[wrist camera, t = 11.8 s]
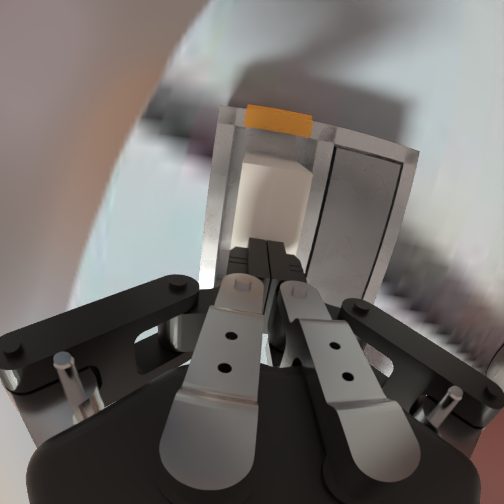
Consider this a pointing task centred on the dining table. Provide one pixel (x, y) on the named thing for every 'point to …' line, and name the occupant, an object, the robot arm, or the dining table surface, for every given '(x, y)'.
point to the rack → (315, 197)
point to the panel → (271, 200)
